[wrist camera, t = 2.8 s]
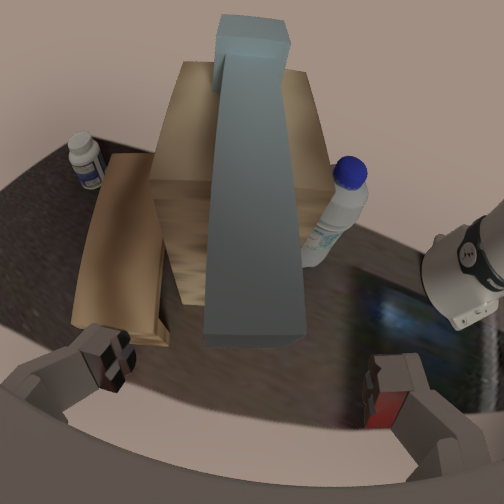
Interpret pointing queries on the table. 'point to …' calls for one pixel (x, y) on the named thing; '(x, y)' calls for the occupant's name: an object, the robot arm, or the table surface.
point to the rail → (252, 195)
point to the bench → (123, 255)
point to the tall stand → (201, 169)
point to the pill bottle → (87, 160)
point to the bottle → (337, 209)
